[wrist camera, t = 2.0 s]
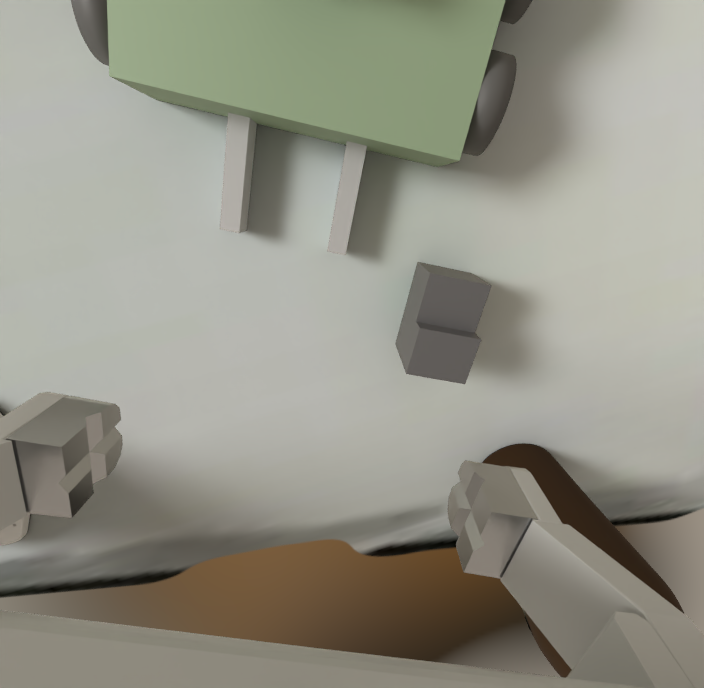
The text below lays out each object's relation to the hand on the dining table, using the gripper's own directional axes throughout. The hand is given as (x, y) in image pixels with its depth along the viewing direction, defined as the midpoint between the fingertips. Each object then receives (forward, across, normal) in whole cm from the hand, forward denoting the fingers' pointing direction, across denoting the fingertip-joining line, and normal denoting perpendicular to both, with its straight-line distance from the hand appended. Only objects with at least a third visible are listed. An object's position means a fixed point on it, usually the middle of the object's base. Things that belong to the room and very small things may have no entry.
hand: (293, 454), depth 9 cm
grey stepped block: (+26, -10, +3) cm, 28 cm away
